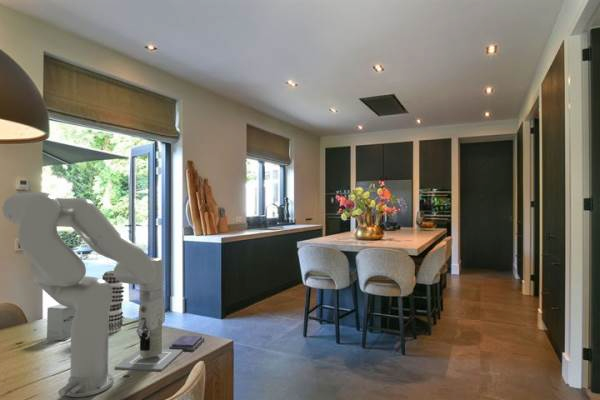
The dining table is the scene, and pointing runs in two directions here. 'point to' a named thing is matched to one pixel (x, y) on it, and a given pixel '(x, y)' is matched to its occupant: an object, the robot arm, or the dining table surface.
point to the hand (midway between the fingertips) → (151, 345)
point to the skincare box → (154, 342)
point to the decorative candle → (115, 302)
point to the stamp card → (149, 361)
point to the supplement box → (59, 322)
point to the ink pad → (187, 343)
